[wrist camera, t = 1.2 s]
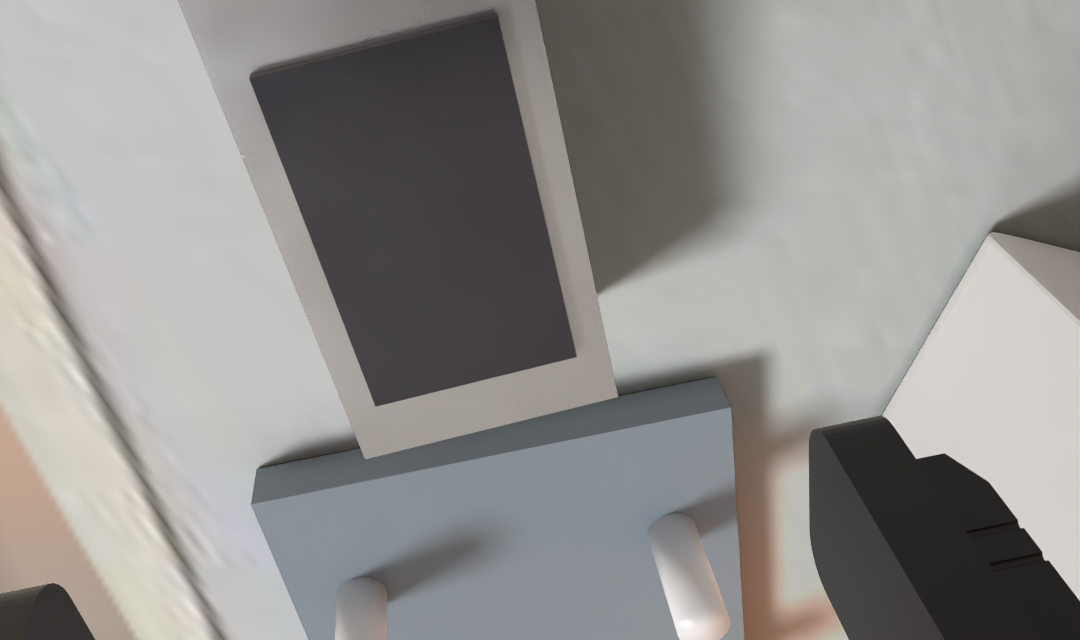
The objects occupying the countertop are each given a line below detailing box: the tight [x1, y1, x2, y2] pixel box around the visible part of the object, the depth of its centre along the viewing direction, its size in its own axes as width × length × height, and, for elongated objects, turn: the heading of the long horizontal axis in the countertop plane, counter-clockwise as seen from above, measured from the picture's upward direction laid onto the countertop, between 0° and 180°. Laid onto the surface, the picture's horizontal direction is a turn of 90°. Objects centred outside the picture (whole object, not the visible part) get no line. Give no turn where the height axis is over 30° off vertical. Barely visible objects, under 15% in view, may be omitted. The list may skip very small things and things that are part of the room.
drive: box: [178, 0, 618, 459], centre depth 18 cm, size 9×5×4 cm, turn 12°
